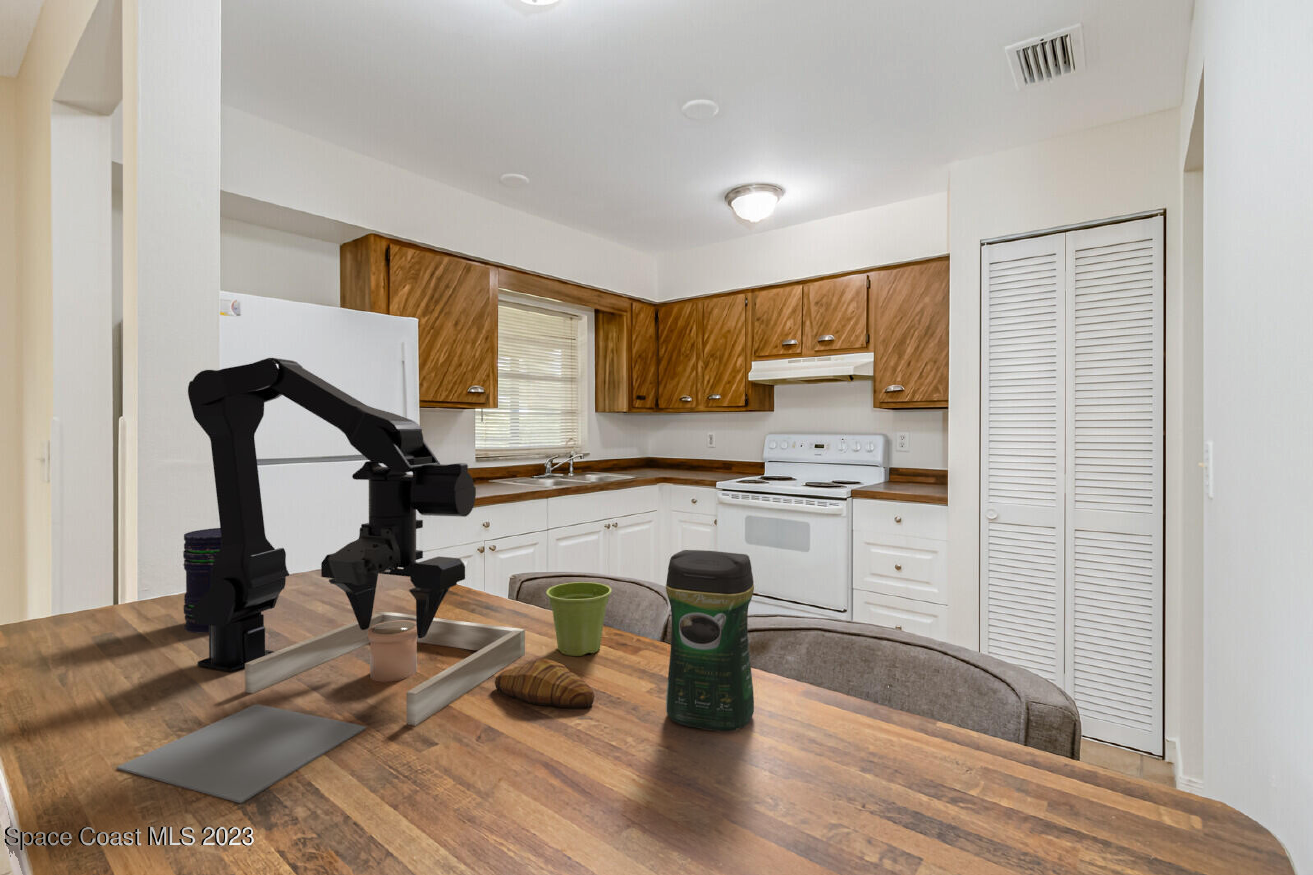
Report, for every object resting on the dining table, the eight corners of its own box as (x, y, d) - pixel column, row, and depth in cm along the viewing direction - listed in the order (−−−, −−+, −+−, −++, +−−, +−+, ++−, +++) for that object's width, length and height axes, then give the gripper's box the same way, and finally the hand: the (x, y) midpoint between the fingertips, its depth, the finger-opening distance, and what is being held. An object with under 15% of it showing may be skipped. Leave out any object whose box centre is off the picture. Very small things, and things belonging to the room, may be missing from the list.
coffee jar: (759, 709, 71) (761, 548, 71) (743, 741, 64) (745, 562, 64) (680, 695, 75) (681, 542, 75) (656, 724, 68) (657, 554, 67)
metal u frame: (245, 692, 75) (244, 663, 75) (382, 633, 96) (382, 611, 96) (415, 725, 67) (415, 693, 67) (524, 653, 88) (525, 629, 88)
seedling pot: (356, 679, 79) (356, 632, 79) (391, 661, 85) (391, 617, 85) (395, 685, 77) (395, 637, 77) (429, 667, 83) (429, 622, 83)
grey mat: (116, 768, 58) (116, 766, 58) (256, 705, 72) (256, 703, 72) (240, 803, 53) (240, 801, 53) (366, 728, 66) (366, 726, 66)
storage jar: (172, 626, 100) (171, 533, 99) (239, 610, 108) (239, 525, 108) (201, 637, 94) (200, 539, 94) (269, 620, 103) (268, 530, 102)
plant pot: (600, 664, 85) (601, 600, 85) (536, 658, 87) (536, 596, 86) (618, 640, 94) (618, 583, 94) (559, 636, 96) (559, 580, 96)
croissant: (478, 701, 74) (478, 659, 74) (513, 680, 80) (513, 641, 80) (577, 723, 68) (577, 678, 68) (606, 698, 75) (606, 657, 75)
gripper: (283, 519, 76) (284, 645, 77) (407, 528, 70) (407, 665, 71) (354, 507, 87) (355, 618, 87) (467, 515, 81) (467, 634, 81)
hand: (392, 633), depth 81 cm, fingers open, 9 cm apart
